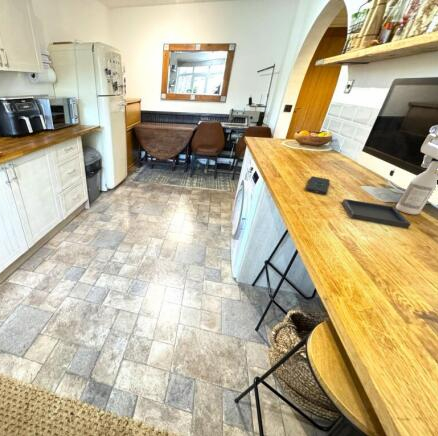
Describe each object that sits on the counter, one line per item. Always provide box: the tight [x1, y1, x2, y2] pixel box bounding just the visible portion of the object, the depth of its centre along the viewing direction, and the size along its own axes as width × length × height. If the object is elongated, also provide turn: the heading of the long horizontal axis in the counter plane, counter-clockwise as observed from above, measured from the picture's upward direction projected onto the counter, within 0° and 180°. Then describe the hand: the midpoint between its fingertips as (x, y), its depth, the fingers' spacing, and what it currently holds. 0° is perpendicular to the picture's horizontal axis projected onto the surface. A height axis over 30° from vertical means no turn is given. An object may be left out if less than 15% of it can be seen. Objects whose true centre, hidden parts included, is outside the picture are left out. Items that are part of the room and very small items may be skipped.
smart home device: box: [305, 175, 331, 196], centre depth 117 cm, size 8×2×20 cm
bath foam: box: [395, 160, 438, 215], centre depth 91 cm, size 7×7×20 cm
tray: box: [341, 198, 412, 229], centre depth 92 cm, size 17×15×2 cm
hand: (430, 171), depth 88 cm, fingers open, 8 cm apart
